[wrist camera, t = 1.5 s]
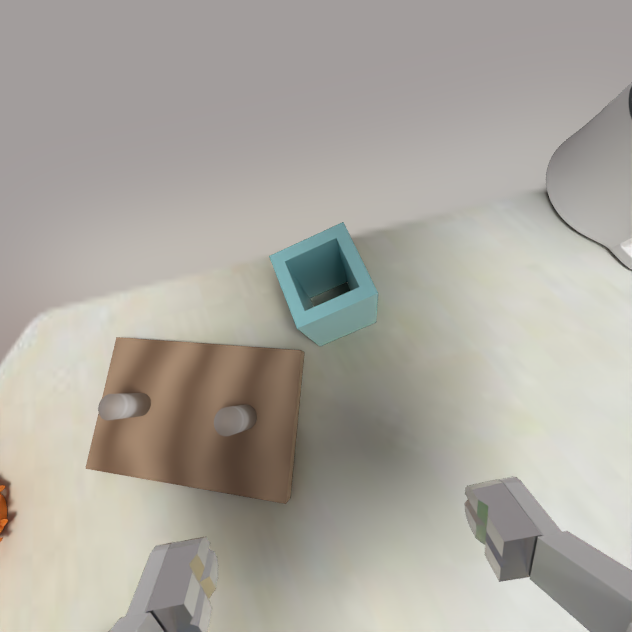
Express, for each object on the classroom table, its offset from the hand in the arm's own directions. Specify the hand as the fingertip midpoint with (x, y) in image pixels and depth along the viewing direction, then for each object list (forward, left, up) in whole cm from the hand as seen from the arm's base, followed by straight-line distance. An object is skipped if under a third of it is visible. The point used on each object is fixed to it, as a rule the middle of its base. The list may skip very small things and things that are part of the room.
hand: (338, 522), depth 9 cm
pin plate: (+17, 0, -20) cm, 27 cm away
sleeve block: (+3, -12, -20) cm, 24 cm away
